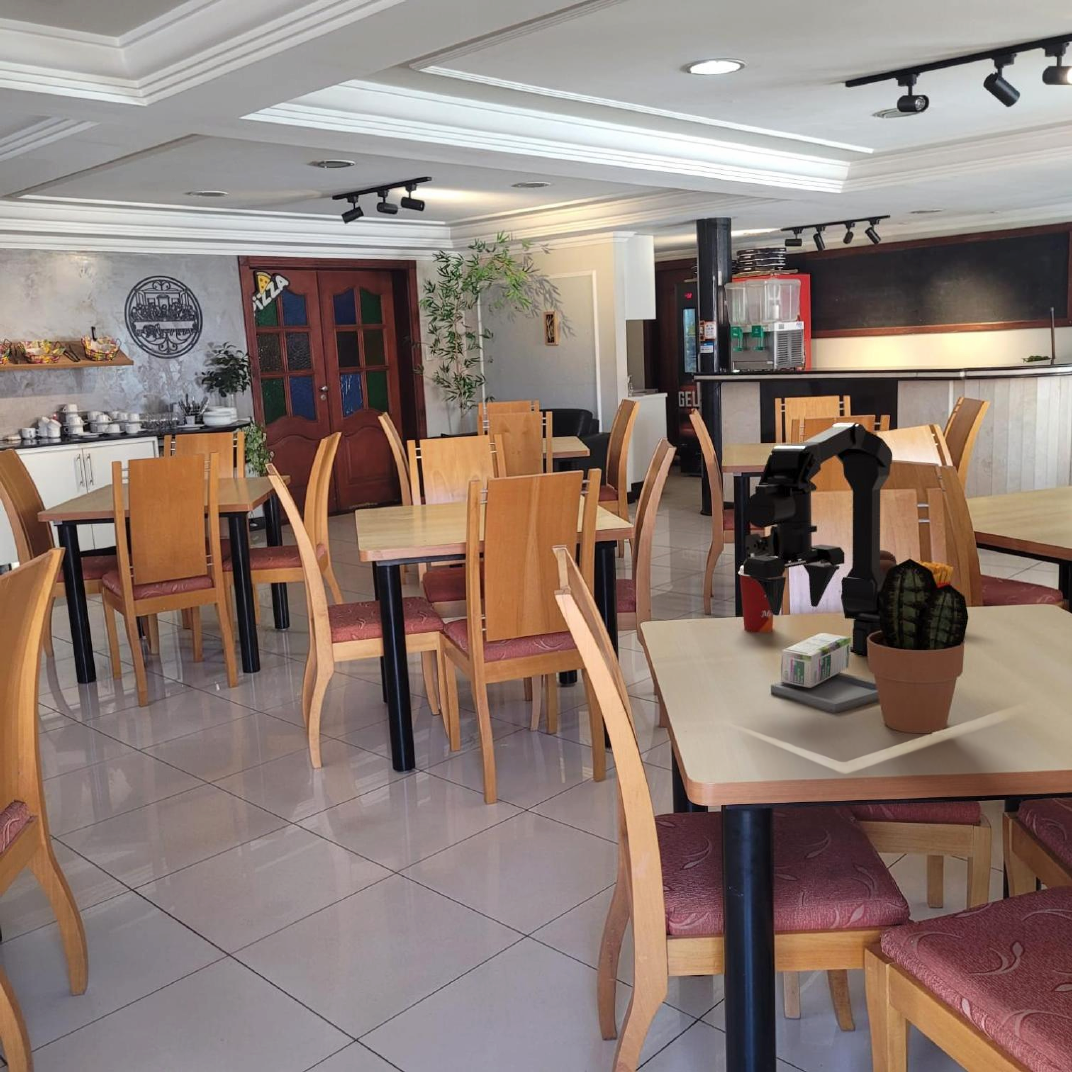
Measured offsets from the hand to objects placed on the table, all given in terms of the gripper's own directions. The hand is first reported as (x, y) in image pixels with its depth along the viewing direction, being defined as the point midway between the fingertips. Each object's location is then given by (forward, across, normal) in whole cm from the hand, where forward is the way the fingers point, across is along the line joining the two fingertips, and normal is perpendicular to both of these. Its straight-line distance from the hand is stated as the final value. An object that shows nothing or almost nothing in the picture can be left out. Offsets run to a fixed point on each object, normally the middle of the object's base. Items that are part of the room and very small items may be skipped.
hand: (795, 610), depth 180 cm
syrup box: (+9, -10, 0) cm, 13 cm away
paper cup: (+13, -21, -31) cm, 40 cm away
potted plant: (+13, +2, +26) cm, 29 cm away
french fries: (+13, -50, -12) cm, 53 cm away
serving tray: (+13, 0, +8) cm, 15 cm away
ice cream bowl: (+13, -46, -20) cm, 52 cm away
